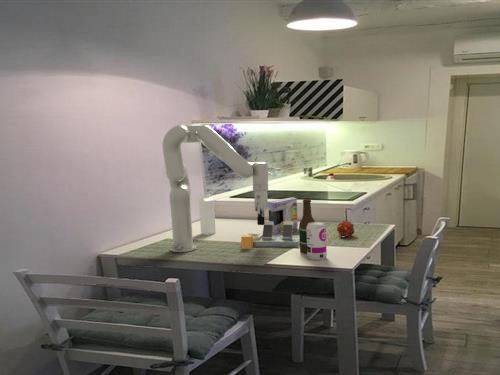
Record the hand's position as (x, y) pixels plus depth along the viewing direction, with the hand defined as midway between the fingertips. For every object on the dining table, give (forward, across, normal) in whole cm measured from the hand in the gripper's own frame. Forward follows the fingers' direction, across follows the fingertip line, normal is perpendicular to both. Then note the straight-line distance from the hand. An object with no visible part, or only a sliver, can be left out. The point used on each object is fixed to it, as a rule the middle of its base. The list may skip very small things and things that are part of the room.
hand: (261, 224), depth 229 cm
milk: (+11, +24, +36) cm, 44 cm away
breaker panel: (+10, +2, -5) cm, 11 cm away
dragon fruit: (+9, +19, -40) cm, 45 cm away
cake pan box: (+10, +32, -5) cm, 34 cm away
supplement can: (+10, -23, -30) cm, 39 cm away
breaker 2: (+6, 0, -13) cm, 14 cm away
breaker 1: (+7, 0, -3) cm, 7 cm away
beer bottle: (+10, -13, -25) cm, 30 cm away
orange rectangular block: (+10, -8, +5) cm, 14 cm away
